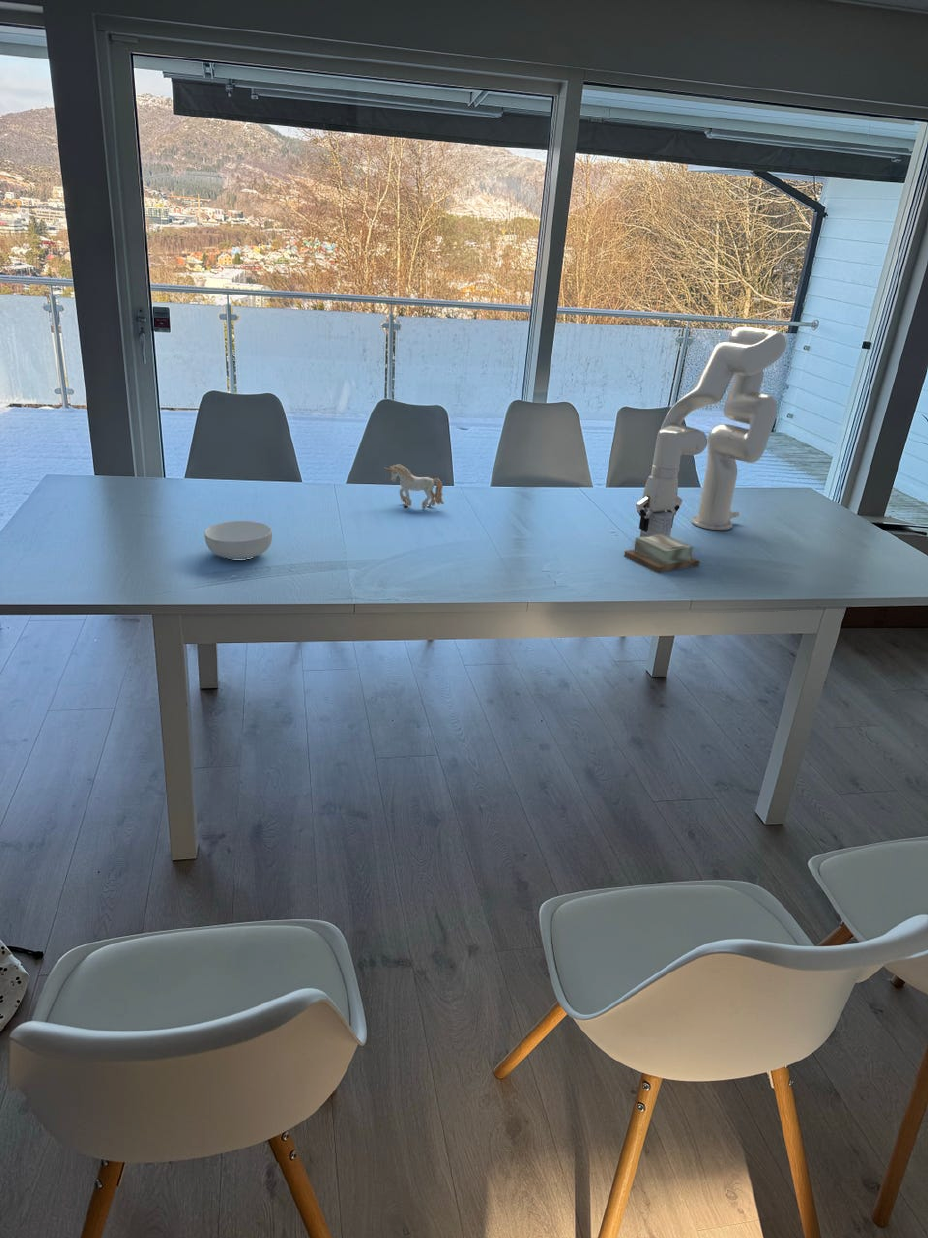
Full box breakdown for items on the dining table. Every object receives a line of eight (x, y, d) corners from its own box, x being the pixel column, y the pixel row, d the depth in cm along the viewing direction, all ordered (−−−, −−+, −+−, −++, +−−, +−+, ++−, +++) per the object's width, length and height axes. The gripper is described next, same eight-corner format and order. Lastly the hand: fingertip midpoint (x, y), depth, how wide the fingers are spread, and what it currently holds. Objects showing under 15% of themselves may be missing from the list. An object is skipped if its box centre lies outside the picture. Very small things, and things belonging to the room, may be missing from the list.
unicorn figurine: (380, 503, 281) (381, 461, 275) (440, 503, 285) (442, 462, 279) (382, 509, 275) (383, 467, 269) (444, 510, 278) (446, 468, 273)
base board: (663, 549, 257) (667, 530, 254) (698, 565, 246) (702, 546, 243) (624, 556, 249) (627, 536, 247) (658, 572, 238) (661, 552, 236)
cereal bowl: (250, 541, 241) (249, 516, 239) (285, 558, 231) (284, 532, 228) (193, 553, 230) (191, 527, 227) (227, 572, 220) (226, 545, 217)
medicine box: (669, 541, 264) (674, 513, 261) (661, 544, 261) (666, 515, 258) (647, 534, 269) (651, 506, 265) (639, 536, 266) (643, 509, 262)
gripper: (677, 467, 264) (668, 522, 271) (633, 470, 255) (624, 527, 262) (695, 473, 258) (685, 529, 265) (651, 477, 249) (641, 535, 256)
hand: (655, 528), depth 264 cm, fingers open, 9 cm apart
